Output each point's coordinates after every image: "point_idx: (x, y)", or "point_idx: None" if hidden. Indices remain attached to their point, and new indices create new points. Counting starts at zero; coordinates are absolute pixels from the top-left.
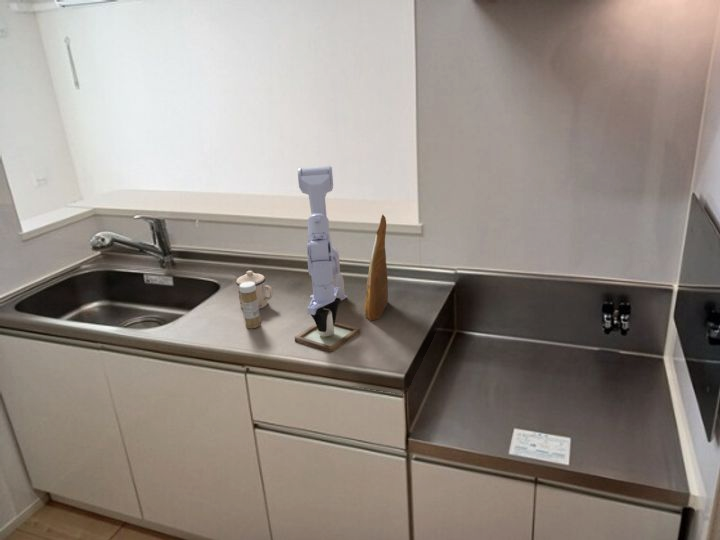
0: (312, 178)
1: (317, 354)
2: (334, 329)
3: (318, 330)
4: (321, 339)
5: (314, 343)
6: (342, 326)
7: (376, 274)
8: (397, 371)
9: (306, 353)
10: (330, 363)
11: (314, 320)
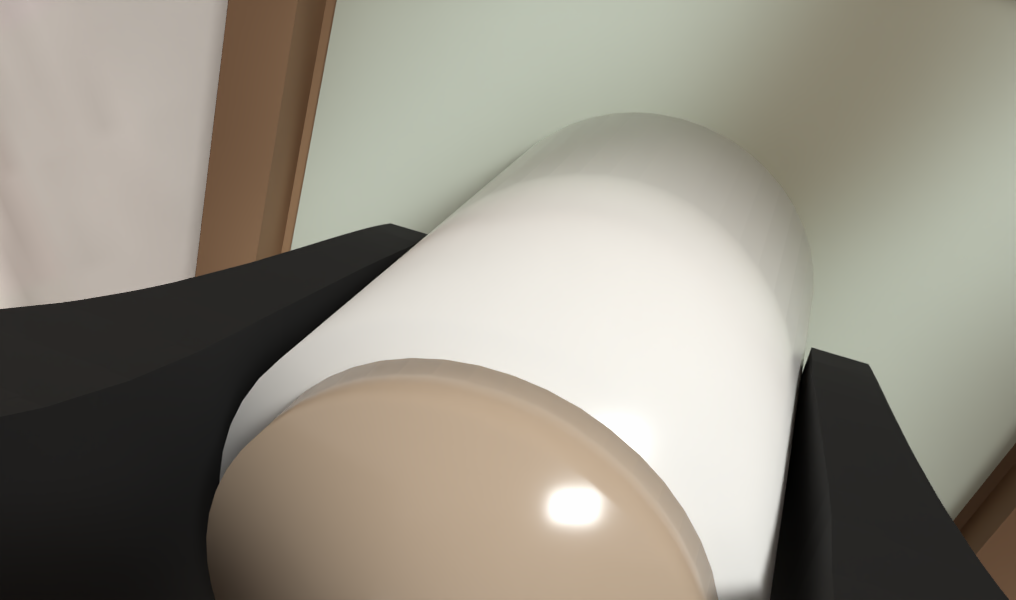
0: None
1: (114, 221)
2: (912, 362)
3: (504, 170)
4: (460, 197)
5: (211, 151)
6: (993, 525)
7: None
8: None
9: (69, 45)
10: None
11: (129, 301)
